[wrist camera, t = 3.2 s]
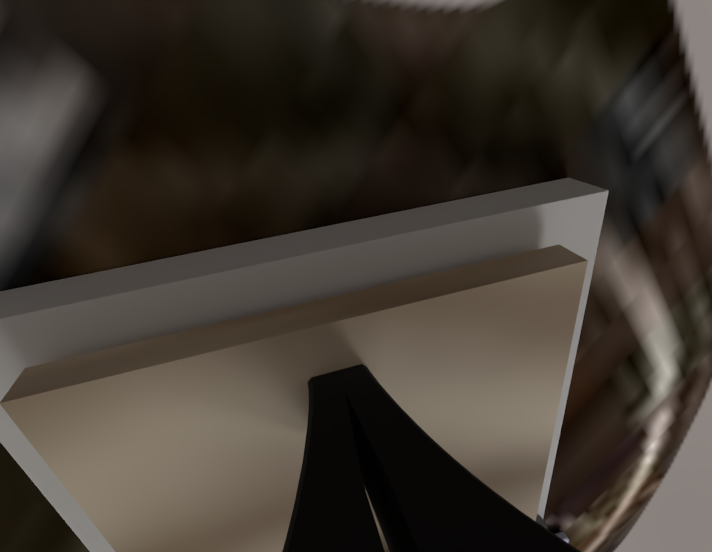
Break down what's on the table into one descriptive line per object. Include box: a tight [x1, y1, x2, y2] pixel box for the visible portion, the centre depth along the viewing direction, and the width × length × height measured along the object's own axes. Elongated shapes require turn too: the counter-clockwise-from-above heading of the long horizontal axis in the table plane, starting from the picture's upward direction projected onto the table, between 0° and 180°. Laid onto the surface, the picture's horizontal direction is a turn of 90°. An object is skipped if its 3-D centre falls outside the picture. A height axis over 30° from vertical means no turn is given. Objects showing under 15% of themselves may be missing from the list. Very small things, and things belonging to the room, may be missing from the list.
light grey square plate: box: [0, 178, 609, 552], centre depth 13 cm, size 16×16×2 cm
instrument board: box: [0, 244, 588, 552], centre depth 12 cm, size 14×13×3 cm
